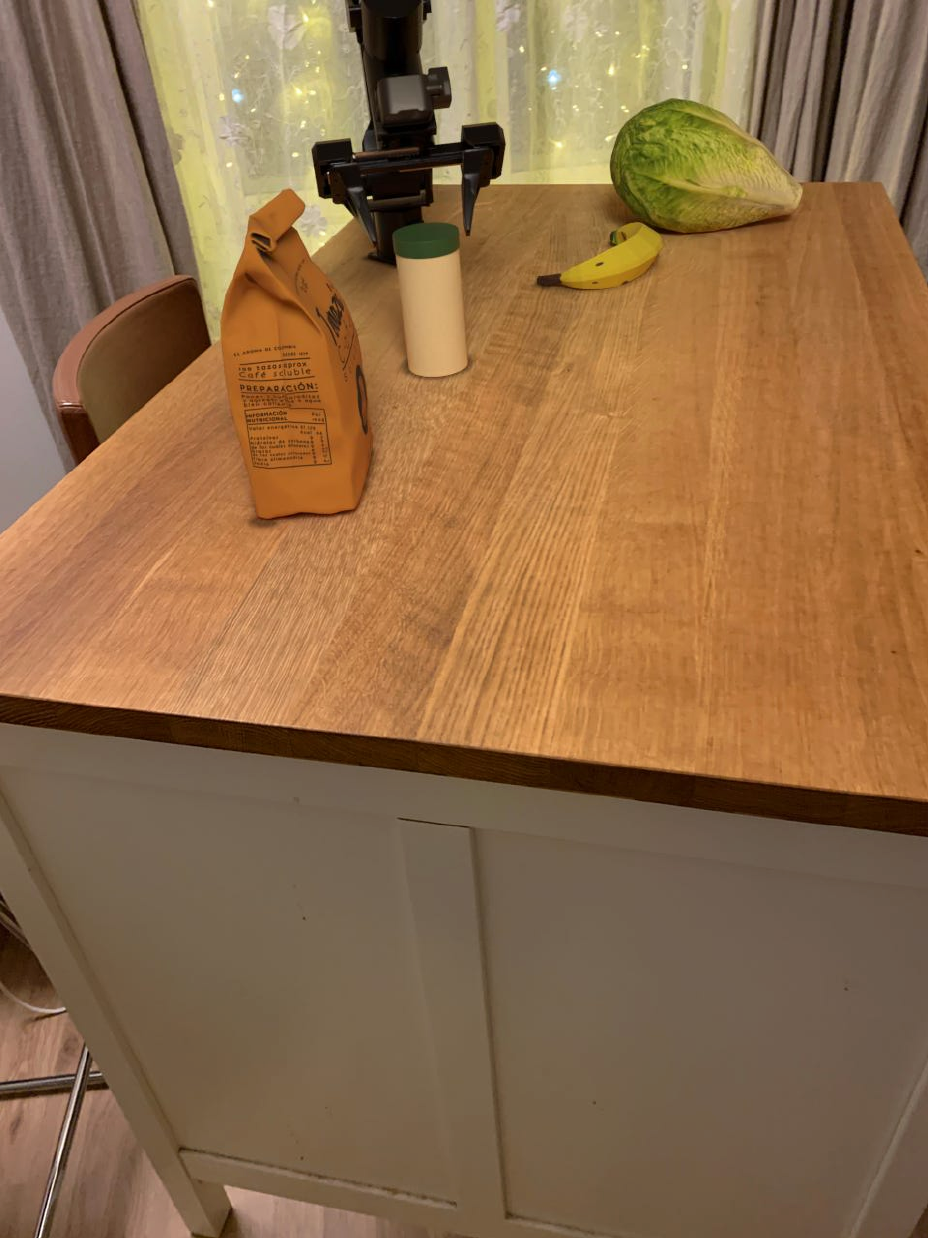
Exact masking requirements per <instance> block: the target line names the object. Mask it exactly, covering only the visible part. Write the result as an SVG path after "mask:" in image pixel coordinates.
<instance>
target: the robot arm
mask: <svg viewBox="0 0 928 1238" xmlns="http://www.w3.org/2000/svg"><path fill="white" fill-rule="evenodd" d="M344 7H345V14H346V15H345V16H346V22H347V28H348V33H349V34H353V33H355V37H356V38H355V39H356V42H357V44H358V48H359V56H360V62H361V69H362V77H363V83H364V91H365V97H366V103H367V105H366V107H367V111H368V112H367V113H368V120H369V123H368V125H367V128H366V129H365V131H364V134H363V138H362V140H361V151H357V152H355V151H354V150H353V144H352V140H351V139H352V138H351V137H346V138H337V139H327V140H320V141H315V143H314V144H313V145H312V147H311V149H310V151H311V159H312V164H313V170H314V171H313V172H314V177H315V182H316V188H317V195H318V197H319V198H321V199H323V200H330V199H331V201H332V203H333V204H334V205H337V206H339V205H343V207H344V208H345V209H346V210H347V212H348V213H350V215H351V216H352V217H353V218H354V219H355V221H356V222H357V223H358V225H359V227H360V228H361V230H362V232H363V233H364V235H365V237H366V238H367V240H368V242H369V243H370V245H371V247H372V248H374V249H375V250H372V251H370V252H368V253H367V257H368V258H369V259H373V260H376V261H380V262H384V263H388V264H392V265H396V266H397V262H396V254H395V252H394V245H393V236H392V235H393V233H394V232H395V231H396V230H398V229H400V228H403V227H406V226H409V225H413V224H419V223H425V220H424V219H423V218H424V217H423V210H422V209H423V208H424V207H426V208H430V207H431V204H434V203H435V201H434V200H435V199H434V183H433V182H434V172H433V170H434V169H438V168H446V167H455V166H460V171H461V183H460V191H461V209H462V224H463V230H464V234H465V237H470V236H471V230H472V225H473V224H472V223H473V219H474V218H473V217H474V210H475V205H476V202H477V200H478V196H479V194H480V190H481V189H482V188H487V187H489V186H490V184H491V181H493V180H496V179H498V178H500V177H502V172H503V165H504V159H505V154H506V153H505V152H506V148H507V147H506V146H507V142H506V136H505V131H504V128H503V127H502V126H501V125H499V124H498V123H497V122H496V121H489V122H480V123H470V124H463V125H461V127H460V128H461V130H460V141H456V142H455V141H454V142H447V143H438V144H436V141H435V139H436V138H435V136H437V135H438V125H437V119H436V112H435V110H444V109H450V108H451V106H452V101H453V94H452V85H451V84H452V83H451V78H450V74H449V68H448V66H447V65H444V66H436V67H428V70H427V74H426V73H424V70H423V69H424V68H423V63H422V57H421V52H420V51H421V50H422V46H423V42H424V41H423V39H424V38H423V35H424V34H423V33H424V31H423V30H424V29H423V28H424V25H425V23H426V22H427V20H428V14H432V13H433V12H432V10H433V9H432V0H344ZM368 197H371V198H368Z"/></svg>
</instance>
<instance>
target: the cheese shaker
mask: <svg viewBox="0 0 928 1238" xmlns="http://www.w3.org/2000/svg"><path fill="white" fill-rule="evenodd" d="M392 236H393V245H394V252H395V254H396V262H397V265H396V270H397V281H398V286H399V295H400V296H399V297H400V305H401V314H402V322H403V330H404V332H403V333H404V339H405V349H406V358H407V367H408V371H410V373H412V374H414V375H416V376H419V377H426V378H439V377H440V378H441V377H446V376H452V375H455V374H458V373H459V372H461V371H463V370H464V369H466V368H467V366H468V363H469V362H468V348H467V347H468V346H467V333H466V321H465V319H466V318H465V307H464V294H463V279H462V268H461V267H462V266H461V254H460V247H461V241H460V229H459V227H458V226H457V225H454V224H452V223H448V222H439V221H437V222H434V221H433V222H431V221H430V222H424V223H419V224H413V225H409V226H406V227H403V228H400V229H398V230H396V231H395V232H394V233H393V235H392Z"/></svg>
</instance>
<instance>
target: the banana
mask: <svg viewBox="0 0 928 1238" xmlns="http://www.w3.org/2000/svg"><path fill="white" fill-rule="evenodd" d="M609 240H610V243H611V244H615V246H612V247H610V248H609V249H607V250H605V251H603V252H600V254H597V255H596V256H593V257H591V258H590V259H587V260H586V261H583V262H581V263H579V264H576V265H574V266H572V267H570V268H569V269H567V270H565V271H563V272H562V271H561V272H558V273H553V274H546V275H538V276H536V279H535V280H536V283H537V284H538V285H539V286H545V287H546V286H554V285H560V284H561V285H564V286H566V287H569V288H573V289H581V290H602V289H610V288H616V287H620V286H622V285H626V284H628V283H631V282H633V281H634V280H636V279H637V278H639V277H641V276H643V275H644V274H645V273H646V272H647V271H648V269H649V268H650V267H651V266H652V265H653V263H654V262H655V260H656V258H657V257H658V256H659V254H660V252H661V251H662V249H663V248H664V244H663V239H662V237H661V234H660V233H658V232H657V231H655V230H654V229H652V228H651V227H649V226H648V225H646V224H644V223H642V222H639V221H636V222H629V223H627V224H625V225H622V226H620V227H619V228H618V229H616V230H613V231H611V232H610V234H609Z"/></svg>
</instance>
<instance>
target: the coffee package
mask: <svg viewBox="0 0 928 1238" xmlns="http://www.w3.org/2000/svg"><path fill="white" fill-rule="evenodd" d="M305 210H306V203H305V202H304V200H303V199H302V198H301V197H300V196H299V195H298V194H297V192H295V191H294V190H293V189H292V188H285V189H282V190H281V191H280V193H278V194H277V195H276V196H275V197H274V198H272V199H271V200H269V201H268V202H267V203H265V204H264V205H263V206H262V207H260V208H259V209H258V210H257V211H256V212H254V213H252V214H249V216H248V220H247V231H246V234H245V239H244V245H243V249H242V252H241V254H240V256H239V258H238V259H239V260H238V262H237V263H236V266H235V269H234V272H233V275H232V279H231V280H230V283H229V285H228V288H227V290H226V292H225V295H224V301H223V305H222V311H221V317H220V321H219V322H220V324H219V325H220V340H221V341H220V343H221V352H222V361H223V369H224V377H225V383H226V389H227V394H228V400H229V401H228V402H229V407H230V414H231V418H232V421H233V424H234V425H233V426H234V428H235V431H236V434H237V438H238V441H239V445H240V451H241V454H242V458H243V462H244V465H245V469H246V471H247V474H248V475H247V476H248V480H249V483H250V488H251V494H252V497H253V503H254V509H255V514H256V516H257V517H259V518H261V519H265V520H271V519H274V518H280V517H286V516H290V515H295V514H298V513H310V514H321V515H332V514H336V513H339V512H343V511H350V510H354V509H356V508H357V506H358V504H359V502H360V500H361V497H362V494H363V490H364V487H365V483H366V480H367V475H368V472H369V468H370V462H371V456H372V452H373V445H374V434H373V430H372V425H371V421H370V420H371V419H370V412H369V399H368V388H367V387H368V386H367V382H366V381H367V380H366V377H365V373H364V371H365V370H364V365H363V356H362V351H361V350H362V349H361V345H360V340H359V334H358V331H357V328H356V327H355V323H354V321H353V318H352V315H351V313H350V310H349V307H348V305H347V304H346V301H345V299H344V297H343V296H342V295H341V293H340V292H339V291H338V289H337V288H336V286H335V285H334V283H333V282H332V281H331V280H330V279H329V277H328V276H327V275H326V273H325V272H324V271H323V270H322V269H321V268H320V267H319V265H317V264H316V263H315V261H313V259H312V258H311V256H310V254H309V251H308V249H307V247H306V245H305V243H304V241H303V239H302V238H301V235H300V234H299V232H298V230H297V228H295V227H293V225H295V223H296V222H297V220H299V219H300V218H301V217H302V216H303V214H304V212H305Z"/></svg>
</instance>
